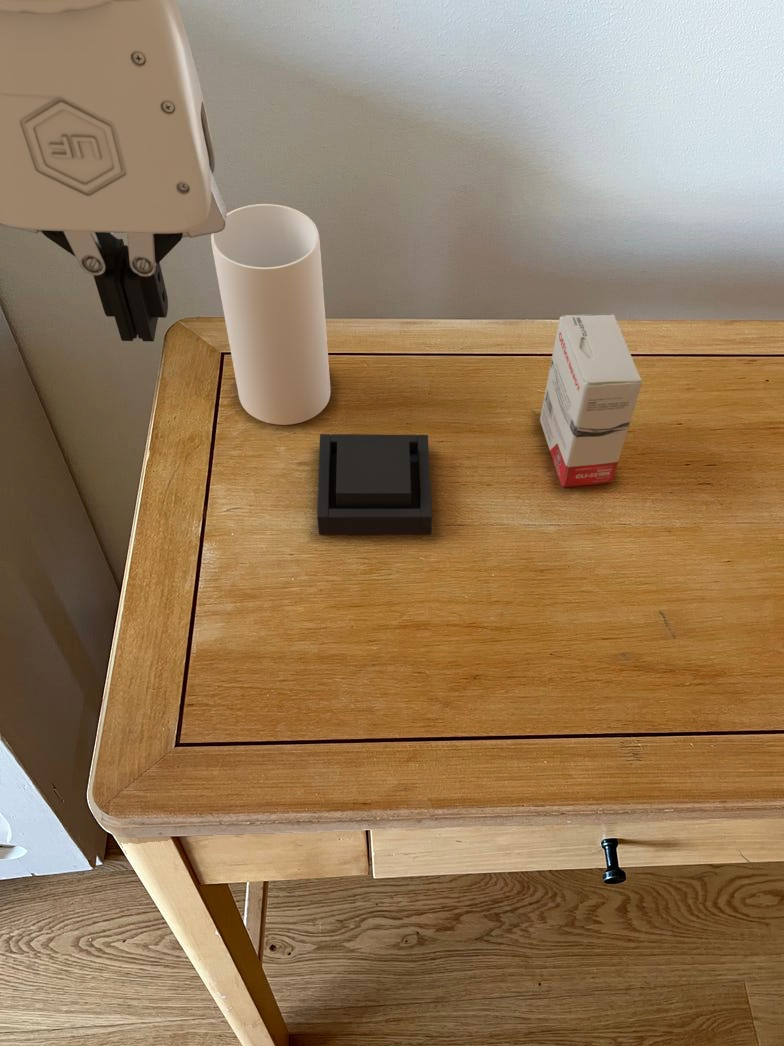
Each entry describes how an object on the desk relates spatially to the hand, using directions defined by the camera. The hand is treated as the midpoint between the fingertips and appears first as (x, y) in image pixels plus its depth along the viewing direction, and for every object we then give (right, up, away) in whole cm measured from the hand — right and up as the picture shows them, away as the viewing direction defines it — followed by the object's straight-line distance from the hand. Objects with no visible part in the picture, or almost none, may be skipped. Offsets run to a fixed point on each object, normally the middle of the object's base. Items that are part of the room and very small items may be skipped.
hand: (141, 323), depth 51 cm
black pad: (+9, -4, +30) cm, 31 cm away
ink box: (+27, 0, +35) cm, 44 cm away
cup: (0, +5, +36) cm, 37 cm away
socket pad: (+9, -4, +30) cm, 32 cm away
